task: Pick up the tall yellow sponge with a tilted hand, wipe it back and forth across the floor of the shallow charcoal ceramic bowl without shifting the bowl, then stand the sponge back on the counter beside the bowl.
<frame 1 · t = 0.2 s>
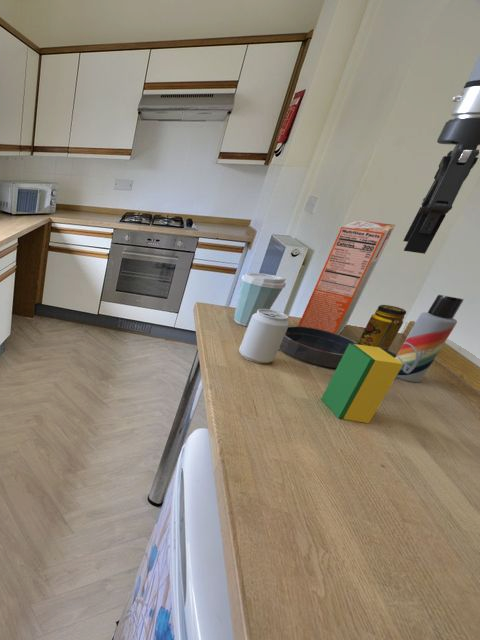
hand: (413, 247, 77), 31 cm above the countertop, tool pointing down, fingers open, 13 cm apart
sponge: (343, 410, 81), on the countertop
can: (254, 358, 101), on the countertop
bowl: (314, 353, 105), on the countertop
striped water bottle: (403, 377, 96), on the countertop
condiment: (373, 350, 109), on the countertop
disposable coffee cup: (246, 323, 122), on the countertop
cereal box: (320, 331, 119), on the countertop
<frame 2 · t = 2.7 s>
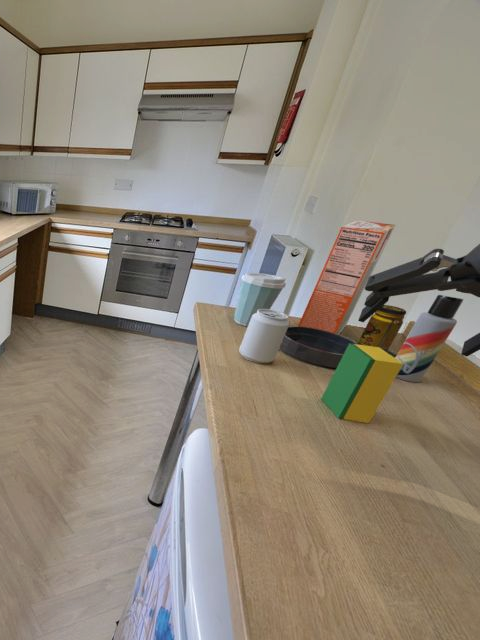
hand: (411, 331, 69), 19 cm above the countertop, tool tilted 35°, fingers open, 13 cm apart
nothing on the countertop moved.
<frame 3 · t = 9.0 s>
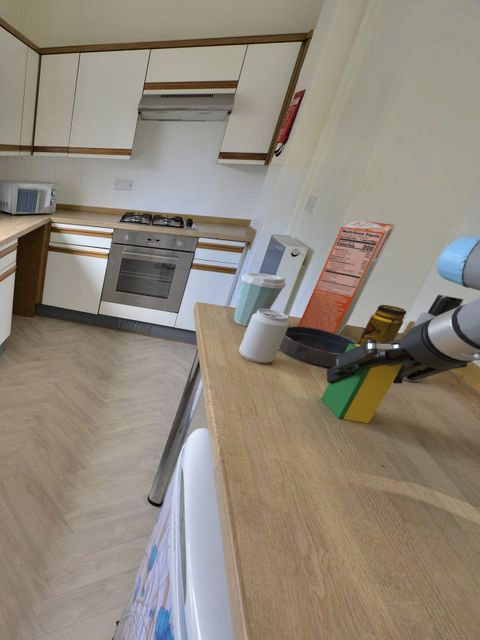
hand: (345, 379, 82), 5 cm above the countertop, tool tilted 45°, fingers closed on sponge, 5 cm apart
sponge: (343, 410, 81), on the countertop, touching gripper
everything else where it was.
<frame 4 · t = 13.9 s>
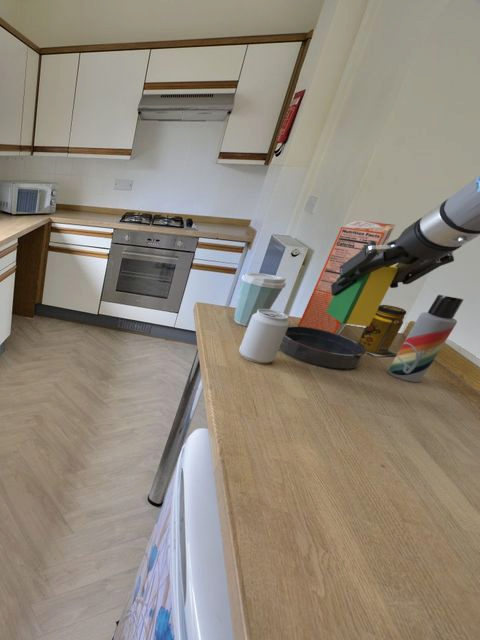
hand: (347, 291, 93), 18 cm above the countertop, tool tilted 45°, fingers closed on sponge, 5 cm apart
sponge: (346, 319, 92), point 13 cm above the countertop, touching gripper
everything else where it was.
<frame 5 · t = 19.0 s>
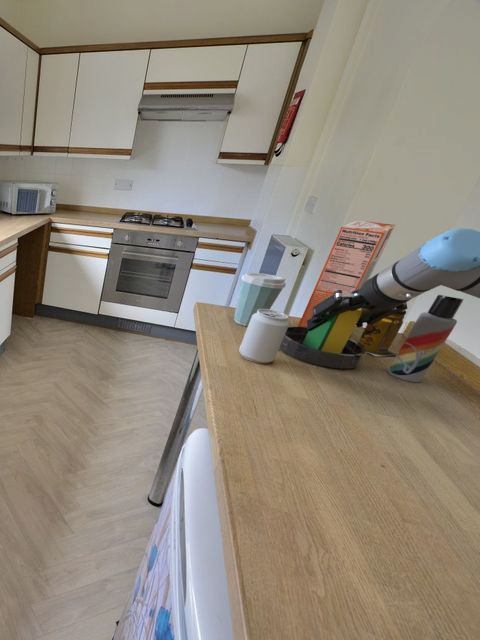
hand: (321, 327, 106), 6 cm above the countertop, tool tilted 45°, fingers closed on sponge, 5 cm apart
sponge: (319, 351, 105), point 1 cm above the countertop, touching gripper
everything else where it was.
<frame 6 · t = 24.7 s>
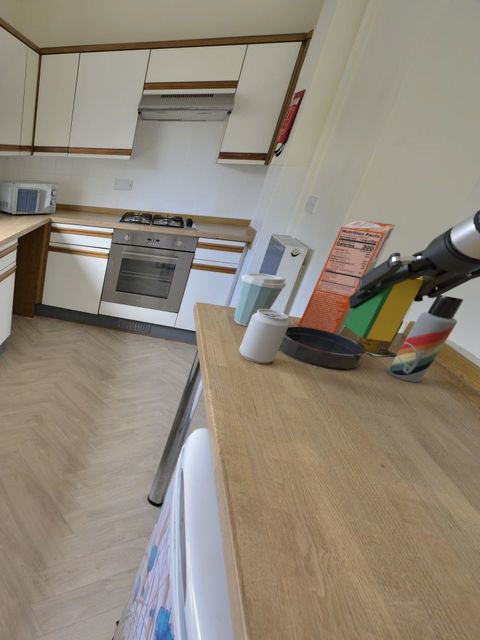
hand: (367, 304, 87), 18 cm above the countertop, tool tilted 45°, fingers closed on sponge, 5 cm apart
sponge: (366, 333, 86), point 12 cm above the countertop, touching gripper
everything else where it was.
when the fingers open (5 cm above the countertop, at t = 29.3 s): sponge stays where it is, on the countertop.
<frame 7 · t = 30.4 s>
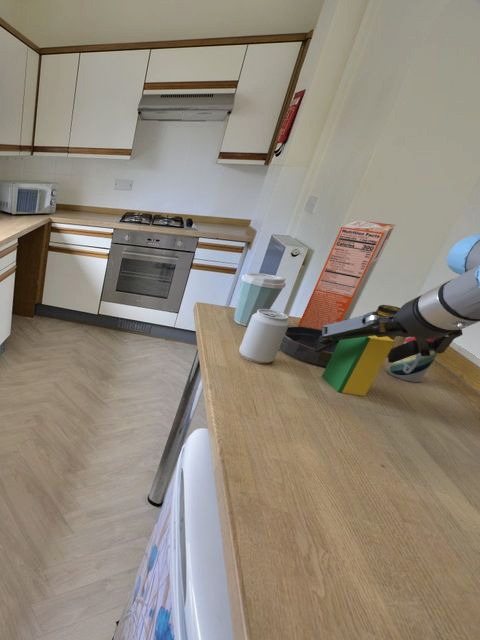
hand: (352, 351, 89), 7 cm above the countertop, tool tilted 45°, fingers open, 13 cm apart
sponge: (342, 385, 90), on the countertop
everything else where it was.
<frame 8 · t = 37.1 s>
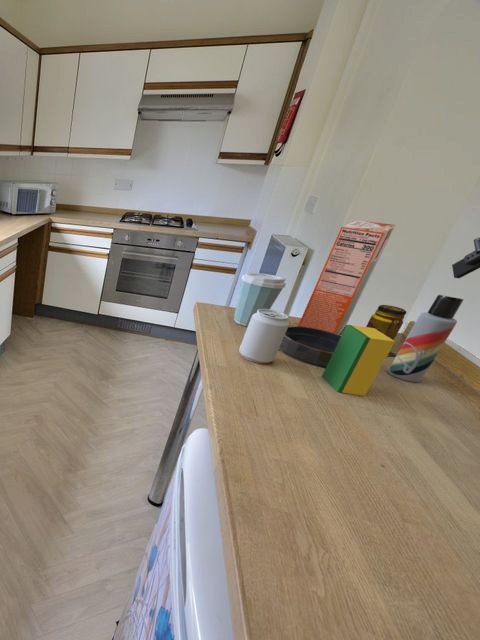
nothing on the countertop moved.
at the end: sponge inside the target area (0.0 cm from its centre), on the countertop; sponge tilted 0°; bowl moved 0.0 cm from its start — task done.
